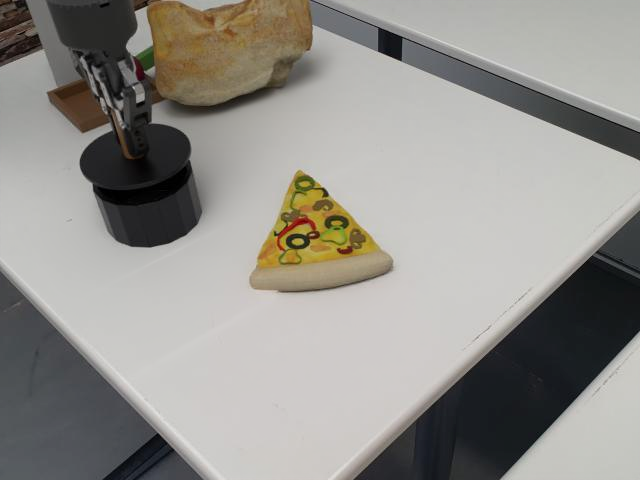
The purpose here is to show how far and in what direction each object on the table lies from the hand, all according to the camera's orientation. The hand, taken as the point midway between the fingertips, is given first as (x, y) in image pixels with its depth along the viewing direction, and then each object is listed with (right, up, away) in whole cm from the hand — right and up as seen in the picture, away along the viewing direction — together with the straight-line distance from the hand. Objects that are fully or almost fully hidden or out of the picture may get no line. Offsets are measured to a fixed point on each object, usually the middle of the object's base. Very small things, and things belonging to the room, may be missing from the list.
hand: (133, 147), depth 76 cm
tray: (-11, +13, +27) cm, 32 cm away
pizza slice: (+19, -8, +5) cm, 22 cm away
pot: (+1, -7, +7) cm, 10 cm away
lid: (0, -1, +1) cm, 1 cm away
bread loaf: (+6, +17, +28) cm, 33 cm away
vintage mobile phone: (-17, +18, +31) cm, 40 cm away
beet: (-11, +16, +25) cm, 31 cm away
